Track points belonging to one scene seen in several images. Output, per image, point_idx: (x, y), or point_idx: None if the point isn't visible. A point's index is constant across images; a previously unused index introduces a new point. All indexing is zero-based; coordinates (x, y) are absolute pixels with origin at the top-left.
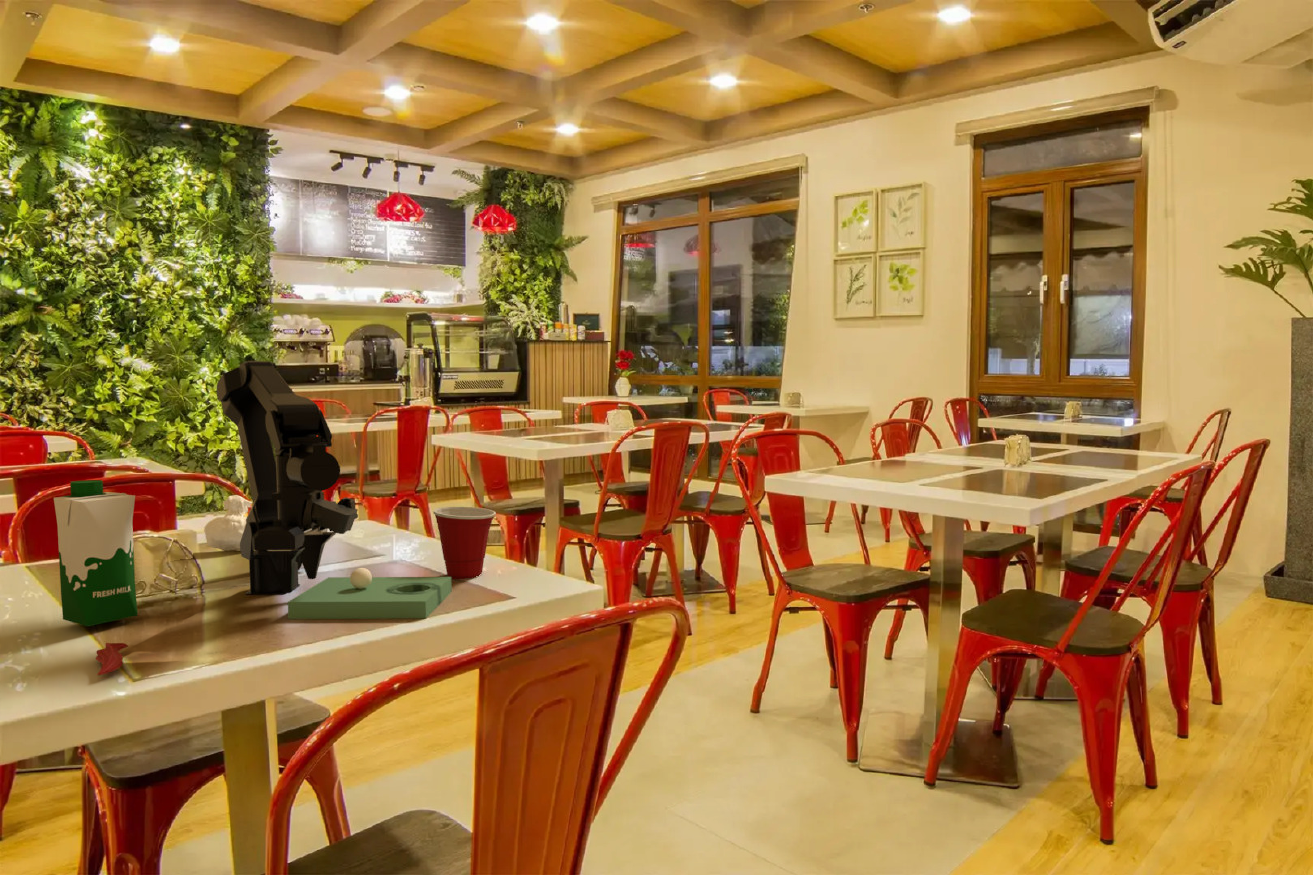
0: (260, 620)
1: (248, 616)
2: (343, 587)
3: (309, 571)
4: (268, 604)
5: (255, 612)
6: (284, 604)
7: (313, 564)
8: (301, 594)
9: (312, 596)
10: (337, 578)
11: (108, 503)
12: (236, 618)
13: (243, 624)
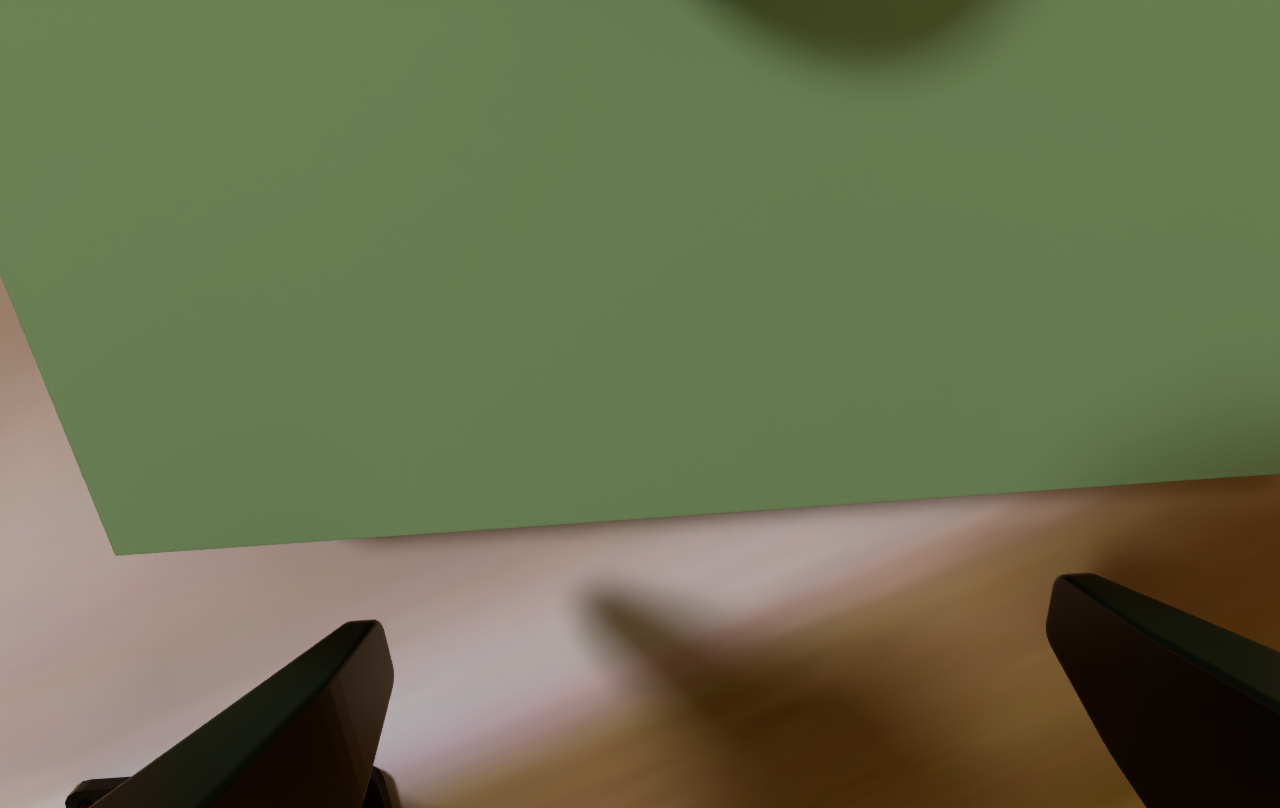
0: (1156, 588)
1: (1020, 708)
2: (612, 117)
3: (360, 737)
4: (679, 735)
5: (909, 715)
6: (674, 636)
7: (288, 782)
8: (976, 481)
9: (1093, 317)
10: (134, 431)
11: None
12: (1063, 751)
13: None
